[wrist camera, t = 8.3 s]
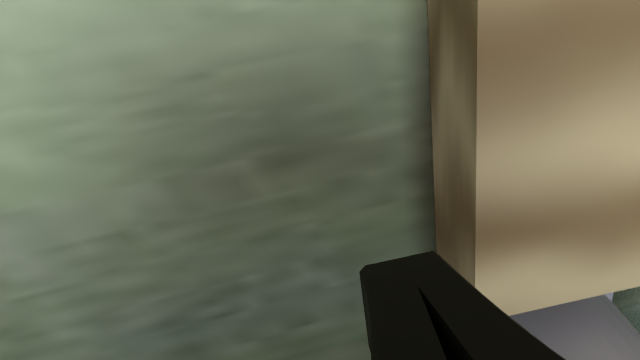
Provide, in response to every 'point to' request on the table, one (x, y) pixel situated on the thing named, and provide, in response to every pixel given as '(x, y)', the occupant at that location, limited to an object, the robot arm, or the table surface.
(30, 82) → the table surface
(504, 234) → the birch deck
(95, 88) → the table surface
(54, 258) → the table surface
